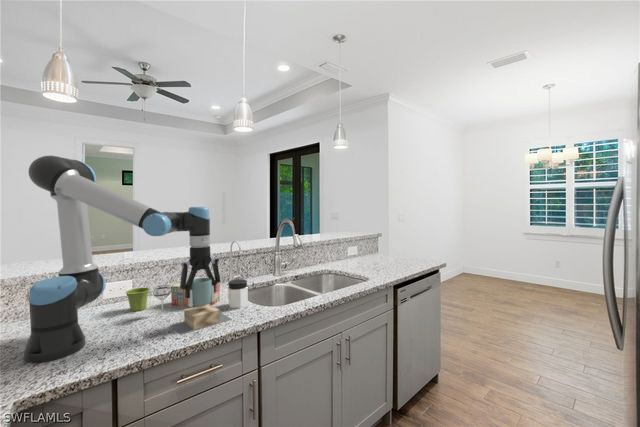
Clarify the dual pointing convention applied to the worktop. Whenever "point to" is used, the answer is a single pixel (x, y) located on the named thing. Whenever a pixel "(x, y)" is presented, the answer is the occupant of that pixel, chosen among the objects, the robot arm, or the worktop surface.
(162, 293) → the wineglass
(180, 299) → the stack of blocks
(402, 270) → the worktop surface
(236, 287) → the jar
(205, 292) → the cup
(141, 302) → the plant pot
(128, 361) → the worktop surface
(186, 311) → the oak riser
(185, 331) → the base board
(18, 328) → the worktop surface
